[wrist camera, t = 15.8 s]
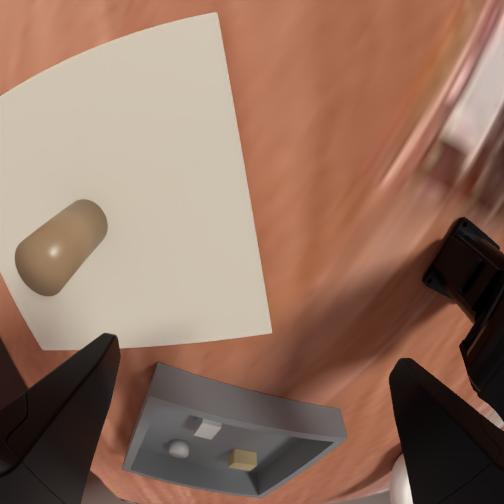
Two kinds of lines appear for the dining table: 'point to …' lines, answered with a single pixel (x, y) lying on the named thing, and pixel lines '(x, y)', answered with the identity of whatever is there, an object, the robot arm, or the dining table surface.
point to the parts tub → (226, 435)
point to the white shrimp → (400, 483)
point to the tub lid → (130, 196)
